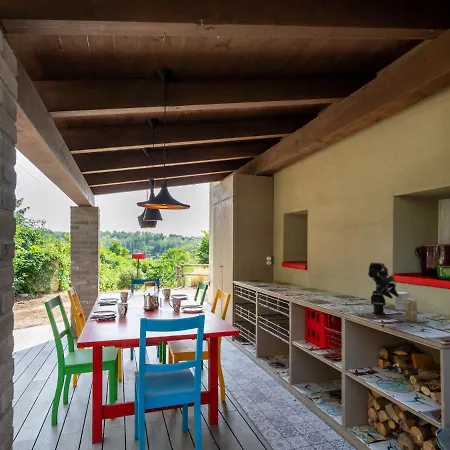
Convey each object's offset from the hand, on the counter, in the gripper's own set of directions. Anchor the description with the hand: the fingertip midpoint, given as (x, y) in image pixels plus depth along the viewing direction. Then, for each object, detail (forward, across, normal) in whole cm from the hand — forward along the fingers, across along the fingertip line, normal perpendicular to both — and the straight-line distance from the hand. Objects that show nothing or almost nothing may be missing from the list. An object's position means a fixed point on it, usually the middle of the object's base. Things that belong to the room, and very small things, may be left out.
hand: (395, 297), depth 240 cm
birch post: (+16, 0, +2) cm, 16 cm away
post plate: (+16, 0, +3) cm, 17 cm away
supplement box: (+4, +33, +16) cm, 37 cm away
